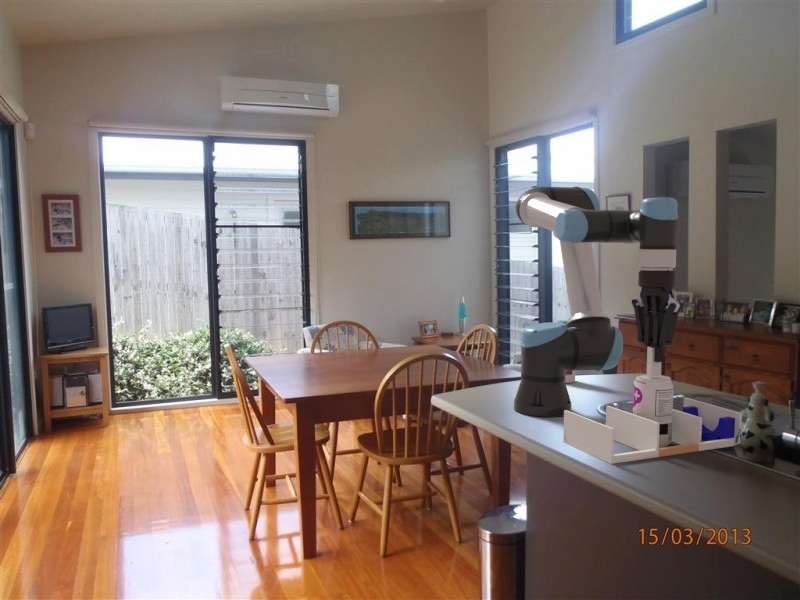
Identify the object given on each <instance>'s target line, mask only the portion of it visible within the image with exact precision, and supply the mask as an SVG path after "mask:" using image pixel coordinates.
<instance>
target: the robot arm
mask: <svg viewBox="0 0 800 600" xmlns="http://www.w3.org/2000/svg"><path fill="white" fill-rule="evenodd" d="M515 213H516V216H517V218H518V219H519V221H520V222H521V223H522V224H524V225H525V226H528V227H531V228H543V229H545V230H548V231H550V232H552V233H553V236H554V237H555V238H556V239H557V240H559V244H560V251H561V256H562V257H561V258H562V265H563V272H564V276H565V285H566V291H567V292H566V293H567V298H568V307H569V311H570V319H569V320H567V321H568V322H567V326H566V324H565V323H562V322H557V321H553V322H550V321H549V322H542V323H541V322H539V323H534V324H531V325H528V326H526V327H524V329H523V330H522V332H521V342H520V348H521V349H520V351H521V353H520V356H521V359H520V362H521V363H520V382H519V384H518V385H519V386H518V389H517V390H516V394H515V397H514V400H513V410H514V411H516V412H517V413H519V414H523V415H528V416H533V417H543V418H544V417H549V418H551V417H552V418H553V417H564V410H567V411H570V412H572V402H571V398H570V395H569V391H568V387H567V383H565V372H566V371H575V372H579V371H580V372H581V371H596V372H600V371H604V370H605V371H606V370H611V369H613V368H615V367H616V366H617V365H618V364H619V362H620V359H621V357H622V354H623V350H624V339H623V334H622V332H621V331H620V329H619V328H618V327H616V326H613V325H612V324H611V323H612V322H611V317H610V316H608V315H606V314H605V313H604V309H603V304H602V298H601V292H600V286H599V280H598V279H599V278H598V275H597V274H598V273H597V268H596V262H595V255H594V250H593V244H592V243H605V244H607V243H614V244H615V243H617V244H619V243H621V244H622V243H623V244H631V245H632V244H636V243H637V244H638V243H639V249H638V250H639V253H638V255H639V256H638V267H639V268H641V270H639V271H638V280H637V281H638V287H640V288H641V290H640V292H639V296H638V297H637V298H633V299H631V305H632V307H633V309H634V317H635V324H636V329H637V330H636V333H637V336H638V337H637V338H638V341H639V342H640V343H643V344H644V346H645V356H644V357H645V361H646V373H645V374H646V376H649V377H657V376H661V375H662V363H663V361H664V349H665V347H668V346H672V343H673V340H674V335H675V331H676V326H677V323H678V317H679V314H680V311H681V310H682V309H683V303H682V302H677V301H676V300H675V299H674V293H673V288H675V286H676V271H675V270H673V269H675V268H676V267H677V243H678V223H679V219H678V218H679V214H678V201H677V200H676V199H675V198H673V197H649V198H648V197H647V198H644V199H643V200H642V201H641V202H640V207H639V209H633V210H630V209H628V210H627V209H601V205H600V201H599V198H598V196H597V194H596V193H595V191H593V190H592V189H590V188H588V187H581V186H571V187H569V186H535V187H533V188H529V189H528V190H526V191H525V192H523V193H521V195H520V196H519V198H518V199H517V201H516V205H515Z"/></svg>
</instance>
